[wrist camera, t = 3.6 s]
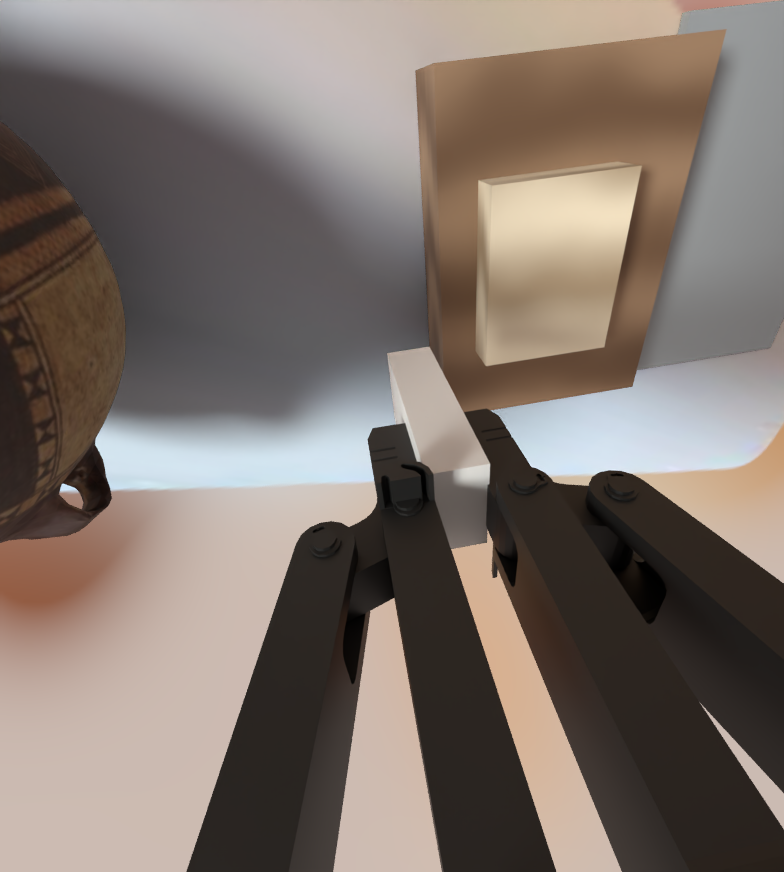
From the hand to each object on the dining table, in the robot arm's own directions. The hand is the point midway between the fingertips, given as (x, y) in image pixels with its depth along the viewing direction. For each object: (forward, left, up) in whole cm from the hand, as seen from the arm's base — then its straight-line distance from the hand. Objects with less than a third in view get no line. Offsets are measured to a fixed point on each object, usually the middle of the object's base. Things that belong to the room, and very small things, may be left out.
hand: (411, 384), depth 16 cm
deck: (0, +10, -14) cm, 17 cm away
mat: (0, +23, -14) cm, 27 cm away
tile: (0, +9, -10) cm, 13 cm away
